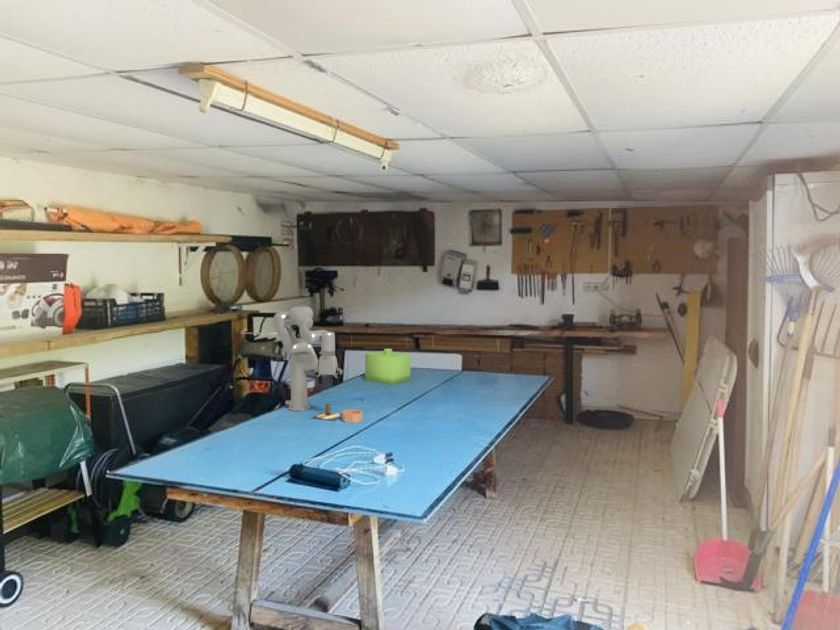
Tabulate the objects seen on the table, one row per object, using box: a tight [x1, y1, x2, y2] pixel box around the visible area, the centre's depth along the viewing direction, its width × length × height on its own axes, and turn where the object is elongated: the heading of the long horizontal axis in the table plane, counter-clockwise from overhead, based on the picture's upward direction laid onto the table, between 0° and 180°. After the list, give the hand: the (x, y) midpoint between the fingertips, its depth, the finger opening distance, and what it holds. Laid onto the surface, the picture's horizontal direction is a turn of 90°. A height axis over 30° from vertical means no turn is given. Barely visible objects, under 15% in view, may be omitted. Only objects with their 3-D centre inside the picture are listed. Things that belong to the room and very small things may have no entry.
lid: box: [315, 403, 341, 421], centre depth 366 cm, size 13×13×7 cm
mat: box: [309, 413, 342, 422], centre depth 366 cm, size 15×15×1 cm
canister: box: [364, 348, 412, 386], centre depth 474 cm, size 25×21×23 cm
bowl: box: [341, 409, 364, 424], centre depth 359 cm, size 11×11×5 cm
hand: (328, 384), depth 364 cm, fingers open, 9 cm apart
